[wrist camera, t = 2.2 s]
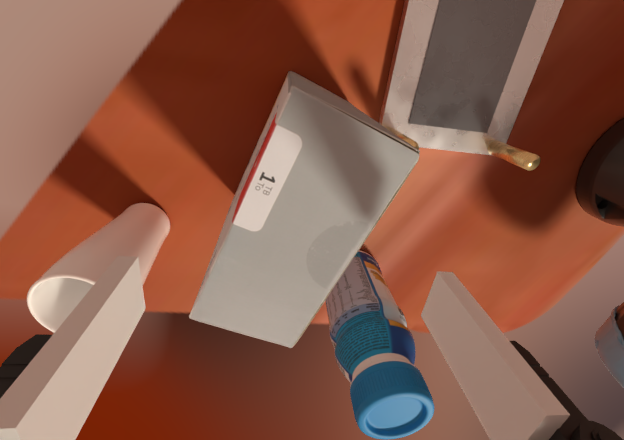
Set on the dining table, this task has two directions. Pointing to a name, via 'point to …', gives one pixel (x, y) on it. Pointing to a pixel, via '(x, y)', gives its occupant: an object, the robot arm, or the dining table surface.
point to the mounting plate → (466, 73)
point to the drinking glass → (97, 262)
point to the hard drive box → (300, 213)
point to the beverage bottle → (376, 353)
